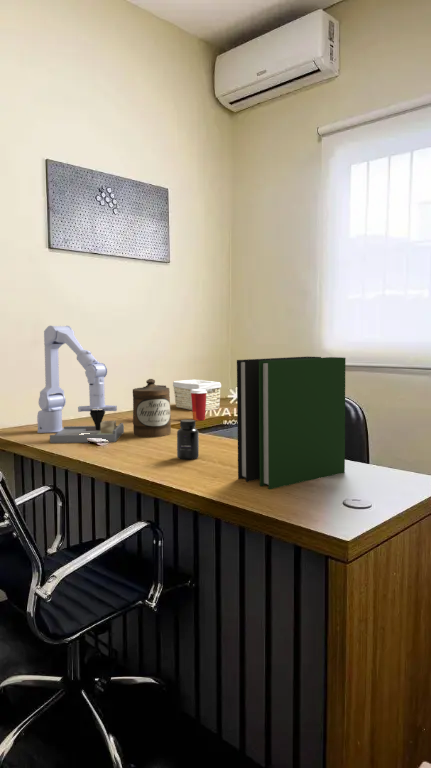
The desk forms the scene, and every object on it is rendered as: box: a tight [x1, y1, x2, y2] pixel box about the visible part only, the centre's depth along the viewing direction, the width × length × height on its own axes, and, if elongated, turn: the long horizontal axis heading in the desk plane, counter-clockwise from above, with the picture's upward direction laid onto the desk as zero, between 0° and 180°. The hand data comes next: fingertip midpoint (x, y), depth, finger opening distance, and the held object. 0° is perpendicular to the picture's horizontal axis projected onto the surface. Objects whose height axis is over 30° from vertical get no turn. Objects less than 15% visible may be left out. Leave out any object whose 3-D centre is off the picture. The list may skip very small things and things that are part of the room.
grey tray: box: [49, 422, 125, 444], centre depth 206 cm, size 24×20×4 cm
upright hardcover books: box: [236, 356, 346, 490], centre depth 145 cm, size 27×15×32 cm, turn 126°
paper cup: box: [190, 389, 207, 422], centre depth 246 cm, size 8×8×14 cm
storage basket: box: [172, 378, 222, 411], centre depth 285 cm, size 24×16×15 cm
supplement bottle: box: [176, 419, 200, 461], centre depth 168 cm, size 7×7×12 cm
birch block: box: [101, 420, 117, 433], centre depth 206 cm, size 5×5×4 cm
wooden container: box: [132, 378, 172, 438], centre depth 211 cm, size 15×15×22 cm
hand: (98, 429), depth 206 cm, fingers closed
